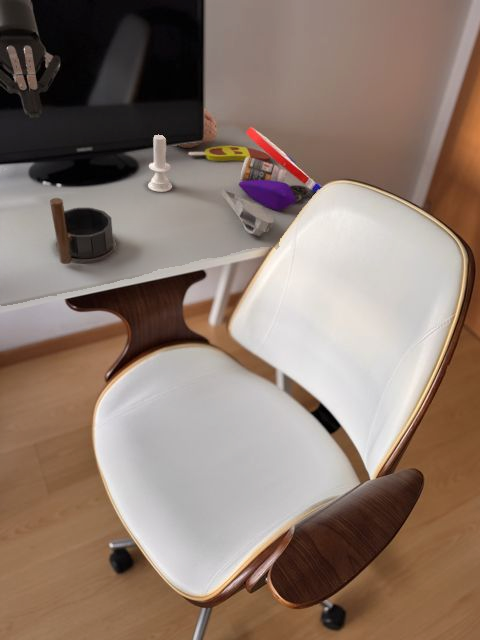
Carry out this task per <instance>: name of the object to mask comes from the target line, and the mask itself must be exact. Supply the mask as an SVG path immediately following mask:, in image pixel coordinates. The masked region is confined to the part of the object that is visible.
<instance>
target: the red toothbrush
mask: <svg viewBox="0 0 480 640" xmlns="http://www.w3.org/2000/svg"><path fill="white" fill-rule="evenodd" d="M245 133H246V135H247V136H248V137H249V138H250V140H252V141H253V142H254V143H256V145H257V146H258V147H259V148H261V150H263V152H264V153H266V154H268V155H269V156H270V158H272V159H273V160H274V161H275V162H277V163H278V164H279V165H280V166H281V167H282V168H283V169H284V170H286V171H287V172H288V173H290V174H291V175H293V177H295V178H296V179H297V180H299V181H300V182H301V183H303V185H305V187H306V188H308V189H309V190H312V191H313V192H314V193H316V191H317V190H318V189H320V188H322V187H323V186H322V185H321V184H320V183H317V182H316V181H315V180H314V179H312V178H311V177H310V176H308V175H307V173H305V172H304V171H303V170H302V169H301V168H300V167H299V166H297V165H296V163H295V161H294V159H293V158H291V157H290V156H289V155H287V153H285V152H284V151H282V150H281V149H280V148H279V147H278V146H277V145H276V144H275V143H273V142H272V141H271V140H270V139H268V138H267V137H266V136H264V135H263V134H262V133H260V131H258V130H256V129H255V128H254V127H252V126H250V127H249V128H248V129H247V131H246V132H245Z"/></svg>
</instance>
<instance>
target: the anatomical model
mask: <svg viewBox="0 0 480 640" xmlns="http://www.w3.org/2000/svg"><path fill="white" fill-rule="evenodd" d="M217 127H218V125H217V122H216V120H215V117H214V116H213V114H211V113H210V112H209V111H208V110H207V109H205V108H204V138H203V140H202V141H201V142H196V143H187V144H180V145H177V146H178V147H181V148H185V149H188V148H191V149H192V148H194V147H198V145H199V144H206V143H207V144H208V143H210V142H212V141H214V139H215V138H216V136H217V133H218V128H217Z"/></svg>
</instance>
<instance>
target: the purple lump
mask: <svg viewBox="0 0 480 640" xmlns="http://www.w3.org/2000/svg"><path fill="white" fill-rule="evenodd" d="M238 186H239V188H240V189H241V190H242V191H243V192H244V193H245V194H246V196H248V197H249V198H251V199H252V200H254V201H255V202H256V203H259V204H260V205H261V206H263V207H265V208H269V209H271V210H273V211H277V212H279V211H283V210H284V209H287V208H289V207H290V206H291V205H293V204H295V203H297V202H296V198H295V196H294V193H293V191H292V189H291V187H290V186H291V185H289V184H288V183H287V182H278V181H271V180H251V181H243V182H242V181H240V182H238Z"/></svg>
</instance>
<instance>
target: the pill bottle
mask: <svg viewBox="0 0 480 640" xmlns="http://www.w3.org/2000/svg"><path fill="white" fill-rule="evenodd" d="M287 172H288V170H286V169H284V168H283V169H279V168H278V166H277V165H276V164H275V163H271V162H269V163H268V162H265V161H261V160H258V159H254V158H251V157H246V159H245V161H243V164H242V169H241V172H240V177H239V179H240V182H243V181H251V180H271V181H278V182H283V183H285V179H286V175H287Z"/></svg>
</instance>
